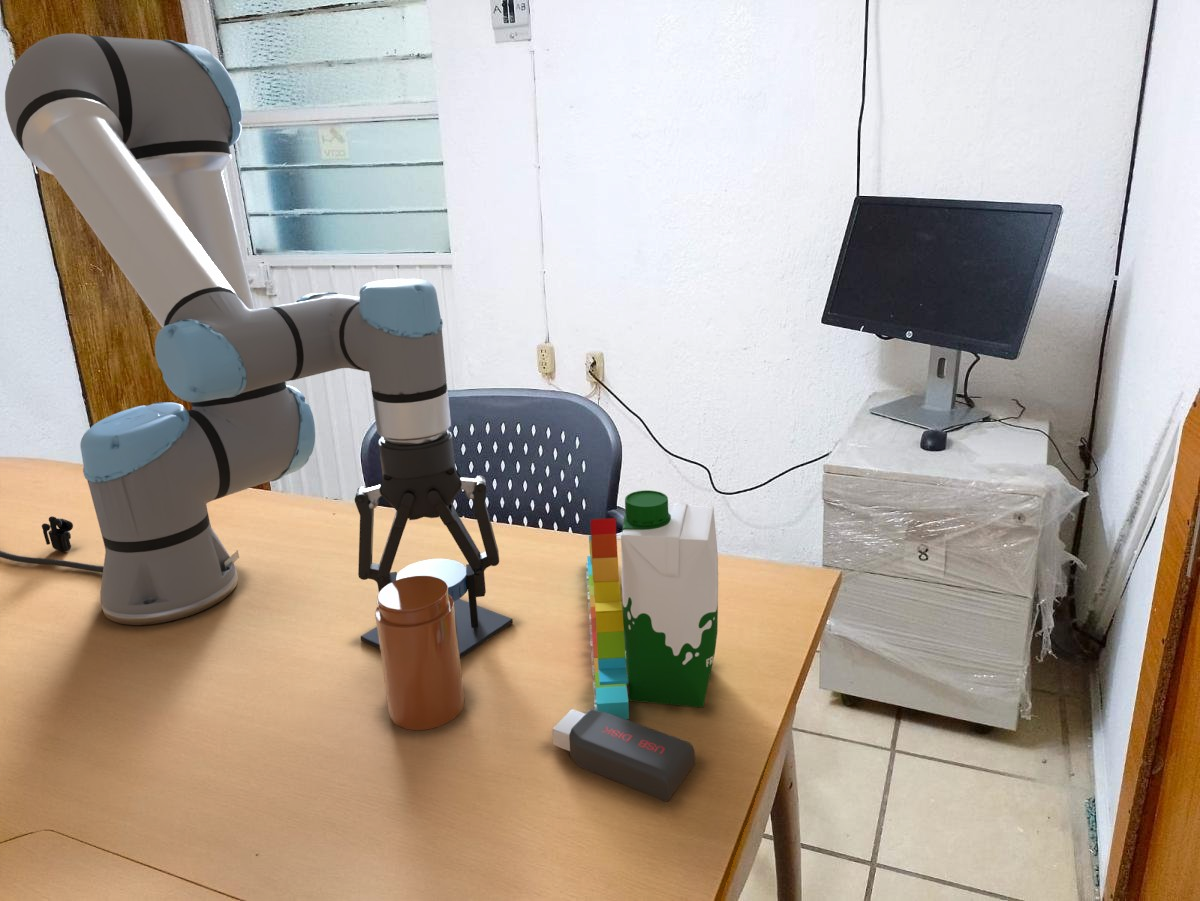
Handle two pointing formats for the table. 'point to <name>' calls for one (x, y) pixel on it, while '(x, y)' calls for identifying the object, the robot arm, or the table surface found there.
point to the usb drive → (625, 751)
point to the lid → (440, 574)
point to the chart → (606, 621)
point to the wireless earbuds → (58, 533)
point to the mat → (463, 627)
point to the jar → (419, 652)
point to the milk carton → (669, 598)
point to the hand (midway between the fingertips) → (437, 625)
